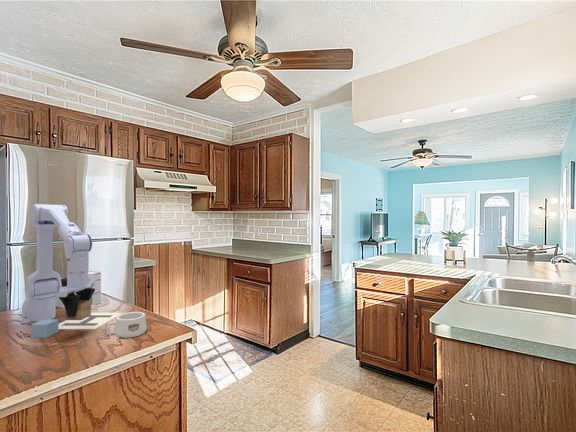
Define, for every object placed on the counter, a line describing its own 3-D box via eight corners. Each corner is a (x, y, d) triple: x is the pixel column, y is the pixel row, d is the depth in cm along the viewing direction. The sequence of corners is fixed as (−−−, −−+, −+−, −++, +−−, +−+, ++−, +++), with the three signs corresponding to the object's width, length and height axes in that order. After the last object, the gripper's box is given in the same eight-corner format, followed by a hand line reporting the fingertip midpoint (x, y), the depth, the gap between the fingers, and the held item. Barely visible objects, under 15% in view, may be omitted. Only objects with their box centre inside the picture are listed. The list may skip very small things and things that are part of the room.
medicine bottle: (79, 303, 138) (79, 277, 138) (62, 308, 132) (63, 280, 132) (67, 302, 141) (67, 276, 141) (51, 306, 134) (51, 278, 134)
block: (65, 320, 98) (65, 304, 98) (75, 315, 103) (76, 300, 103) (80, 320, 98) (81, 304, 98) (90, 315, 103) (91, 300, 103)
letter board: (47, 331, 105) (47, 328, 105) (82, 314, 123) (82, 312, 123) (94, 331, 105) (94, 329, 105) (122, 314, 123) (122, 312, 123)
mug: (142, 326, 111) (142, 309, 111) (149, 334, 103) (149, 316, 103) (104, 333, 104) (104, 315, 104) (108, 343, 96) (108, 323, 96)
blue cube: (30, 340, 98) (31, 324, 98) (43, 334, 103) (43, 319, 103) (46, 340, 98) (46, 324, 98) (58, 334, 103) (58, 319, 103)
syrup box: (101, 302, 141) (101, 270, 141) (92, 306, 135) (92, 272, 135) (90, 302, 141) (90, 270, 141) (80, 305, 136) (80, 272, 136)
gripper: (75, 276, 93) (74, 321, 93) (103, 268, 108) (103, 307, 108) (51, 276, 93) (51, 321, 93) (83, 268, 108) (82, 307, 108)
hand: (77, 313), depth 100 cm, fingers closed on block, 5 cm apart
